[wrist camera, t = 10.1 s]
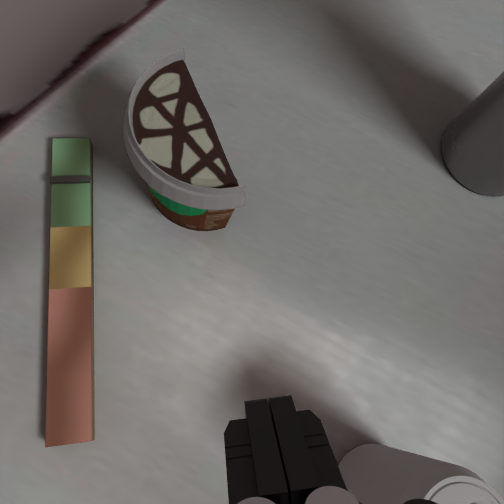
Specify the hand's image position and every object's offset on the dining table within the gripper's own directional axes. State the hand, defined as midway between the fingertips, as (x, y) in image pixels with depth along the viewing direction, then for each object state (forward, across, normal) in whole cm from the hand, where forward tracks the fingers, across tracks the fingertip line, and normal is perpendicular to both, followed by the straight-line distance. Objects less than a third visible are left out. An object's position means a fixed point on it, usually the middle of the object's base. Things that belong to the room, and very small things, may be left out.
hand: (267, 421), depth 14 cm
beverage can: (+13, -9, +19) cm, 25 cm away
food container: (+27, +4, -3) cm, 27 cm away
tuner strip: (+22, +12, +2) cm, 25 cm away
